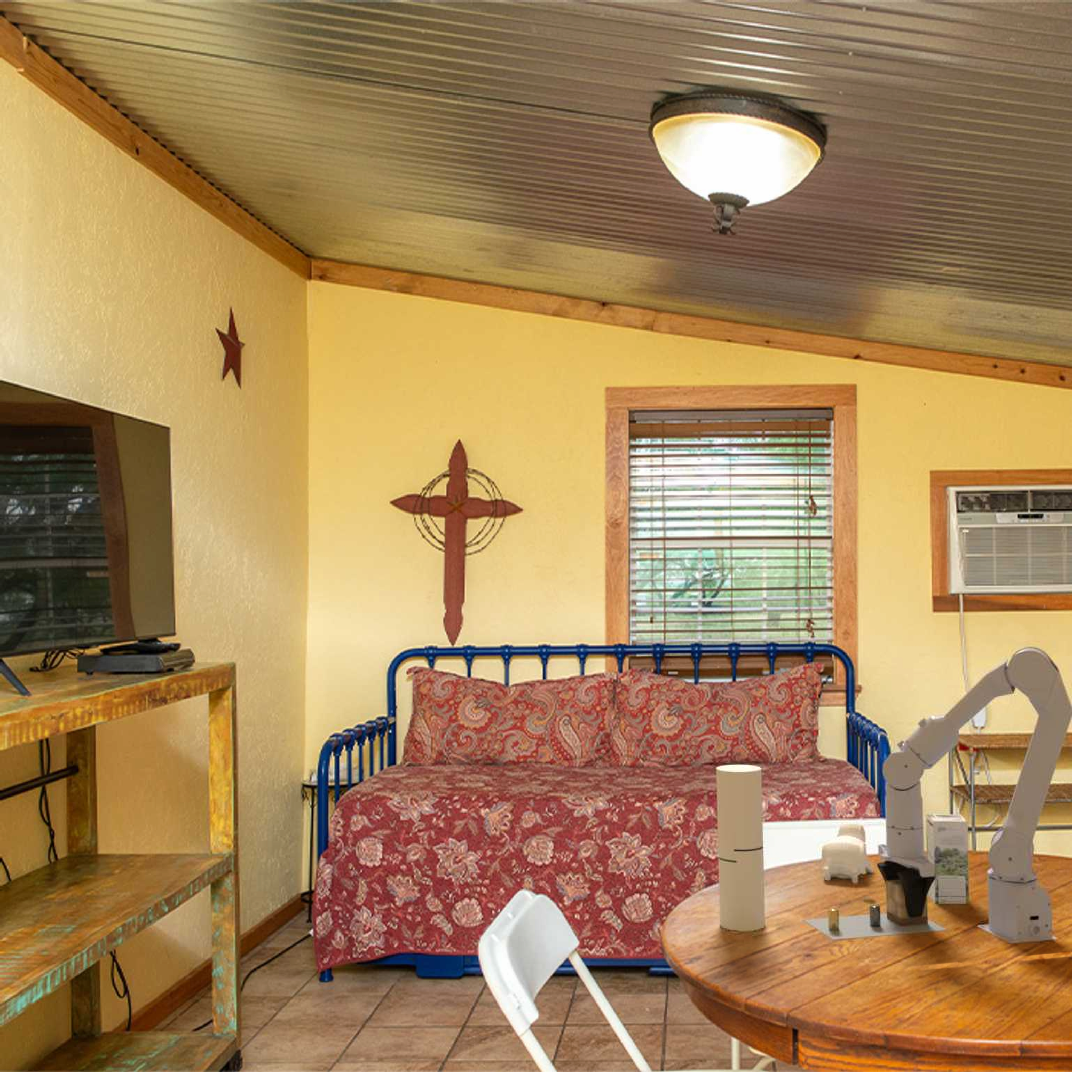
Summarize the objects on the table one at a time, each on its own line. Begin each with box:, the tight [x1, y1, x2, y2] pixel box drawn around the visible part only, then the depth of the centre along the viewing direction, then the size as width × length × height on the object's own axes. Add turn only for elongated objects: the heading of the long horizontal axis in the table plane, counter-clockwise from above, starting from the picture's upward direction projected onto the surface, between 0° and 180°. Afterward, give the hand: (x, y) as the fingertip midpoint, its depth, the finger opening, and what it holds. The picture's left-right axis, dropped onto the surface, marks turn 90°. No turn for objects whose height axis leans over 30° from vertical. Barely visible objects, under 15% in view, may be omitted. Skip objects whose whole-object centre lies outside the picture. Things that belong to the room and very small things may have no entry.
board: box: [802, 912, 948, 941], centre depth 194 cm, size 11×19×1 cm, turn 102°
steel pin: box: [869, 904, 881, 927], centre depth 193 cm, size 2×2×4 cm
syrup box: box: [925, 813, 970, 905], centre depth 208 cm, size 6×6×14 cm
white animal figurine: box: [821, 821, 875, 884], centre depth 229 cm, size 9×8×15 cm
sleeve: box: [885, 879, 929, 926], centre depth 196 cm, size 5×5×6 cm
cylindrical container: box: [715, 764, 766, 932], centre depth 198 cm, size 7×7×25 cm
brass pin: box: [827, 908, 840, 931], centre depth 192 cm, size 2×2×4 cm
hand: (906, 912), depth 196 cm, fingers closed on sleeve, 5 cm apart
